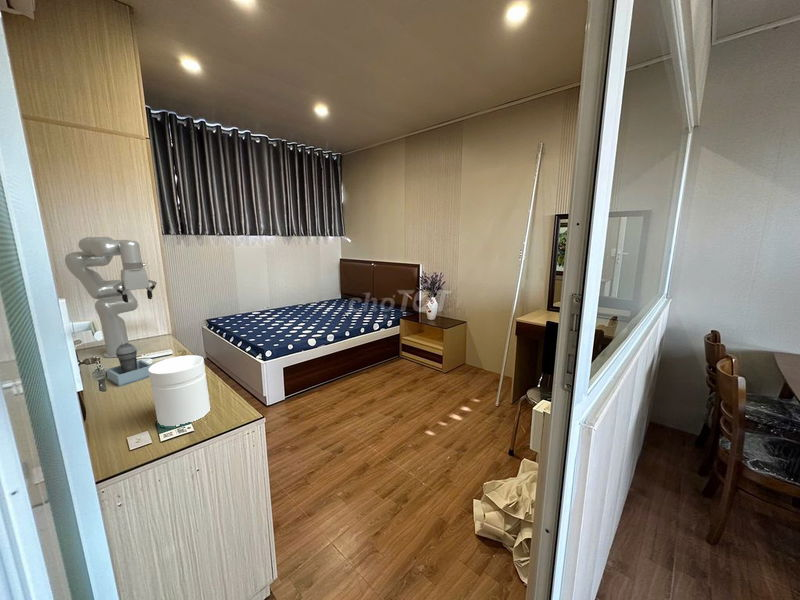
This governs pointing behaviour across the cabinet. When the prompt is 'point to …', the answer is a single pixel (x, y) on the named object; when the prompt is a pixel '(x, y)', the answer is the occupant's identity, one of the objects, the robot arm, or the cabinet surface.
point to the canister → (179, 390)
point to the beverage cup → (127, 356)
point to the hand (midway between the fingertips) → (138, 300)
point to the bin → (128, 374)
